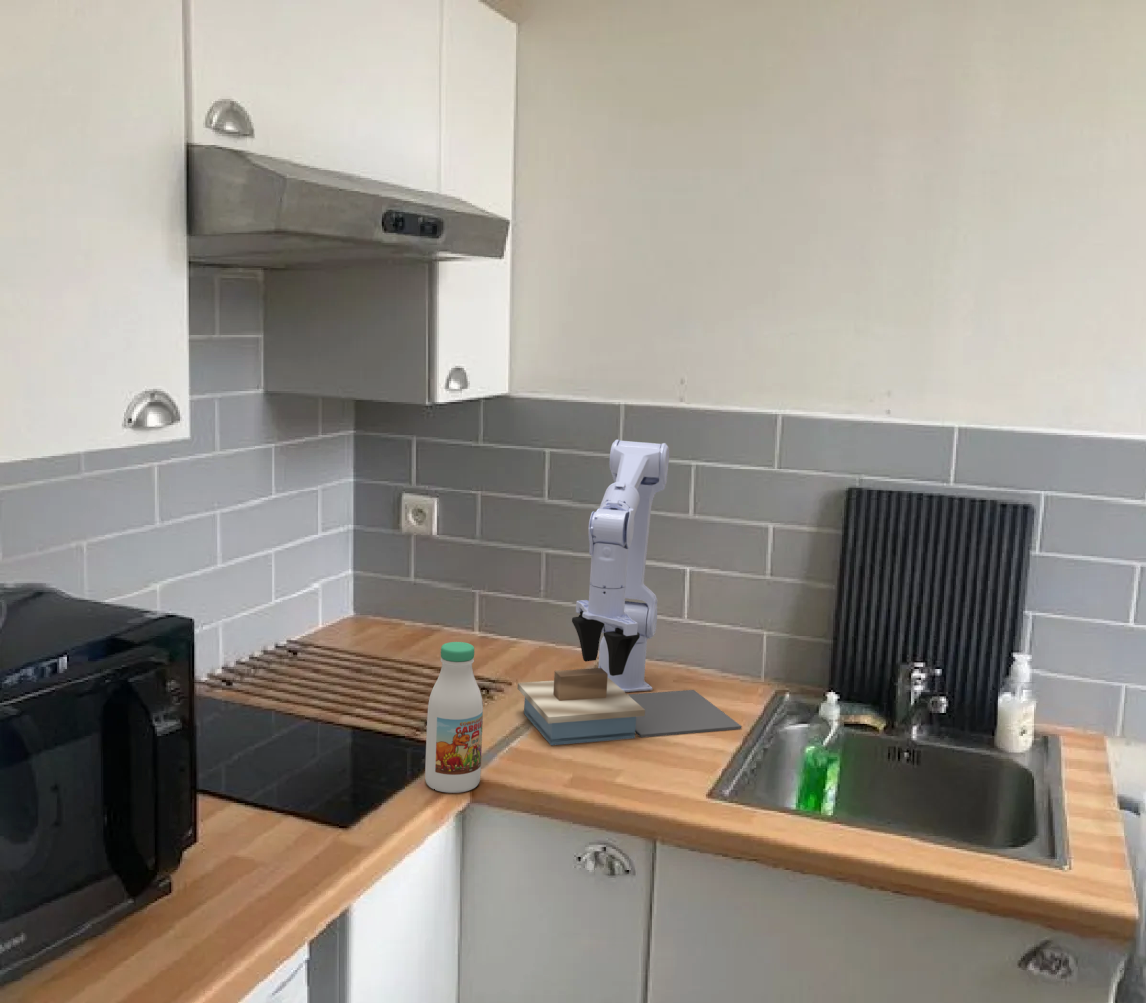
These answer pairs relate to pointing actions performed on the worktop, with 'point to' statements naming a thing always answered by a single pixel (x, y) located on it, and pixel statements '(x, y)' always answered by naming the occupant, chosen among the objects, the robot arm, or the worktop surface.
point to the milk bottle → (454, 723)
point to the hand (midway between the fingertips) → (602, 667)
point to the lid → (579, 697)
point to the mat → (679, 714)
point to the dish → (581, 728)
